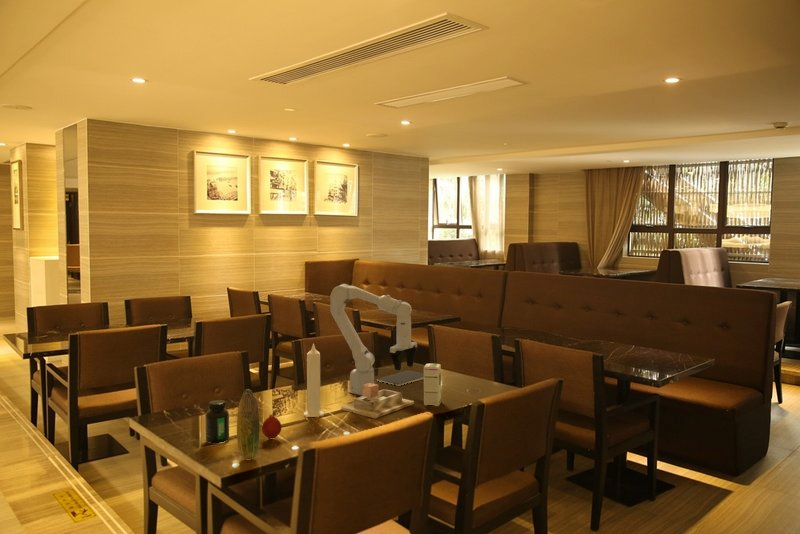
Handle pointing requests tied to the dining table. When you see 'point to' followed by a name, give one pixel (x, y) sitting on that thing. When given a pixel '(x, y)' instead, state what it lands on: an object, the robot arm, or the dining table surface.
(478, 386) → the dining table surface
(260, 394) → the dining table surface
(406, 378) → the notebook
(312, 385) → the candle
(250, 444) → the vegetable
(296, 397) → the dining table surface
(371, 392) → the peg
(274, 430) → the onion
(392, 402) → the holder
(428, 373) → the syrup box
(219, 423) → the supplement bottle
